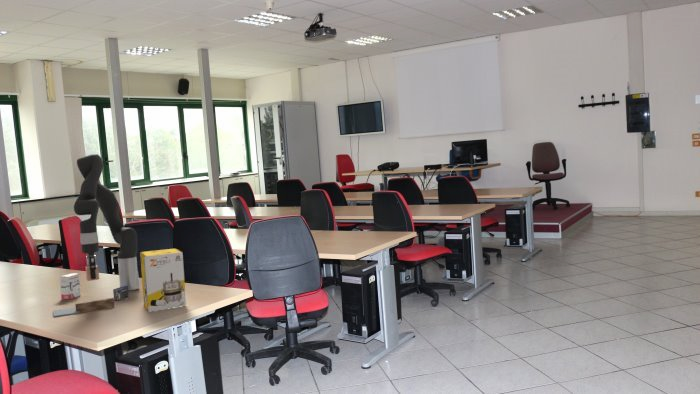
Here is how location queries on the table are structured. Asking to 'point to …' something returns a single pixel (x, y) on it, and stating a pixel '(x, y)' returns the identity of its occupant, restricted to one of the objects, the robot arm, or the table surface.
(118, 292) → the mini dv tape
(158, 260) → the packaging box
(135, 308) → the table surface
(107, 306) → the walnut screen
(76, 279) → the ink box
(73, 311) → the slate mat
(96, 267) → the terracotta block
